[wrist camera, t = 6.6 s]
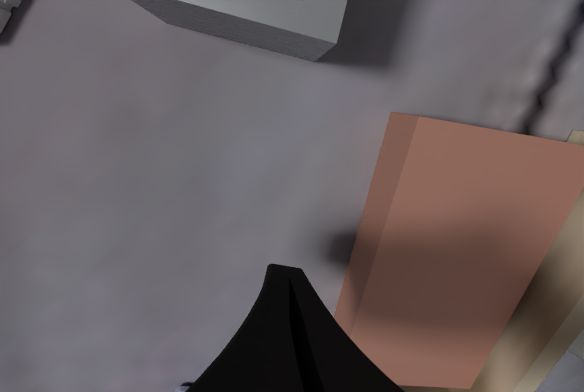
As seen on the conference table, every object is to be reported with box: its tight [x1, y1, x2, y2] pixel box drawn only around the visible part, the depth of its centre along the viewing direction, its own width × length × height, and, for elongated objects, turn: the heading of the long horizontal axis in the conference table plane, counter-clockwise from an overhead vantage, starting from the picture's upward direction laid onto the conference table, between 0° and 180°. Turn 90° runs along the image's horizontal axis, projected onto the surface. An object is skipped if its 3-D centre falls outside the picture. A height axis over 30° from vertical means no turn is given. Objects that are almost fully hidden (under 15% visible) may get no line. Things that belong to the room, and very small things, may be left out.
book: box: [334, 112, 584, 389], centre depth 14 cm, size 14×8×3 cm, turn 171°
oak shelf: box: [398, 130, 584, 392], centre depth 14 cm, size 18×10×4 cm, turn 167°
